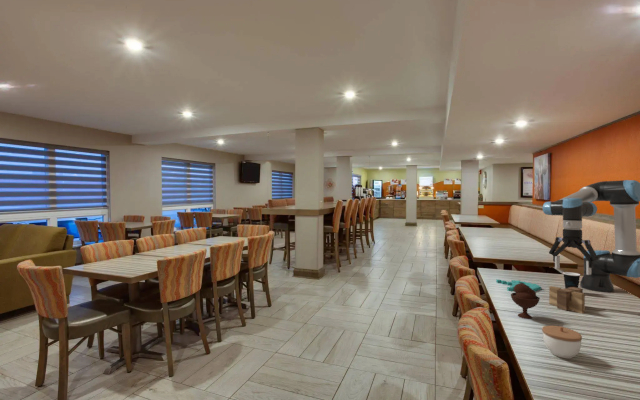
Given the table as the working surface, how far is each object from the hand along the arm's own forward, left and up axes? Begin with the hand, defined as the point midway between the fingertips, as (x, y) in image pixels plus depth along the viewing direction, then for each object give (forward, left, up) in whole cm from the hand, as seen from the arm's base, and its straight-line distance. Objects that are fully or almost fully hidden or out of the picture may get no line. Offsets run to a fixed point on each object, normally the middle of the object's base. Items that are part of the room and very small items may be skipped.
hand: (572, 271), depth 153 cm
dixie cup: (-27, -14, -18) cm, 36 cm away
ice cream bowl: (+35, -1, -18) cm, 40 cm away
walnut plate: (+2, 0, -18) cm, 18 cm away
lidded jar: (+58, +26, -18) cm, 66 cm away
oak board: (+5, 0, -18) cm, 19 cm away
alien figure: (-11, -33, -18) cm, 39 cm away
